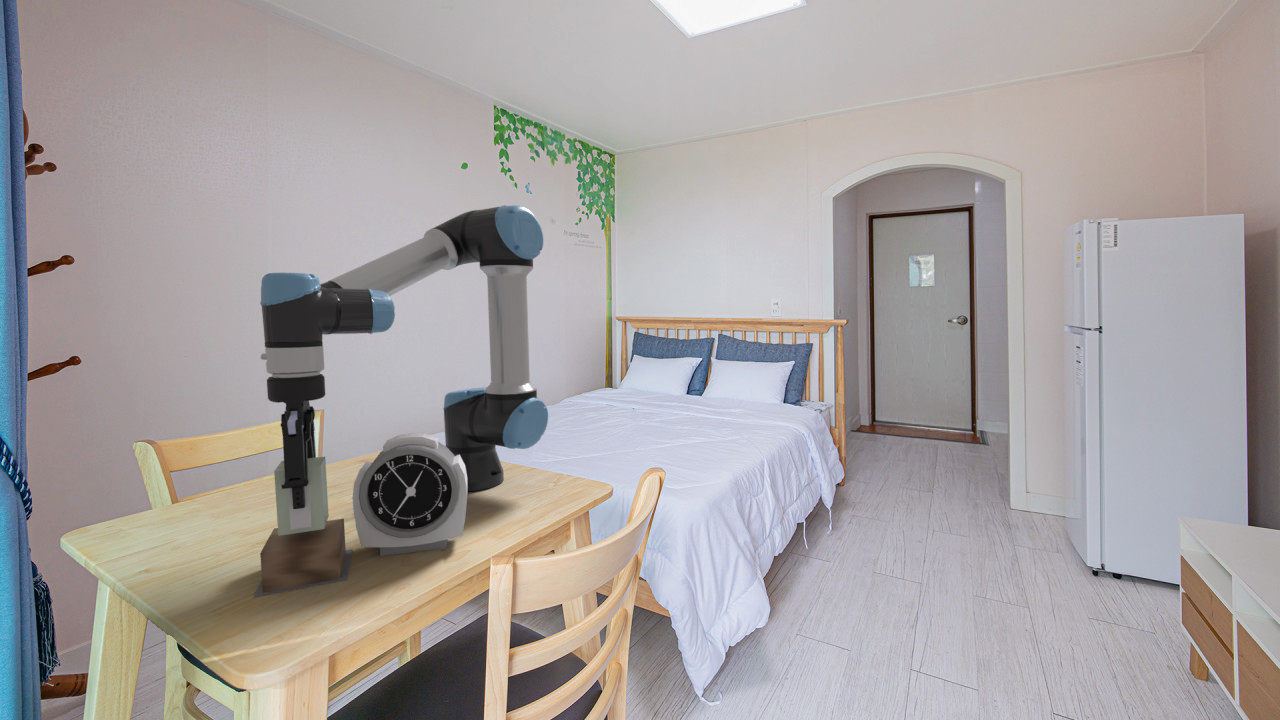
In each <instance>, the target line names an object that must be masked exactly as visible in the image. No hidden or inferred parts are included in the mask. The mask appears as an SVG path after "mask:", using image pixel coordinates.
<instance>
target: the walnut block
mask: <svg viewBox="0 0 1280 720" xmlns="http://www.w3.org/2000/svg"><path fill="white" fill-rule="evenodd" d="M345 531H346V530H345V518H338V519H331V520H330V519H329V520H327V522H326V525H325V529H321V530H314V531H308V532H301V533H294V534H287V535H281V536H278V527H275V528H273V529H272V531H271V533H270V535H269V537H268V538H267V541H266V542H265V544H264V545H263V547H262V549H261V550H260V572H261V580H262V587H263V593H264V592H269V591H274V590H280V589H285V588H291V587H296V586H302V585H307V584H313V583H318V582H323V581H329V580H334V579H340V578H341V574H342V569H343V564H344V559H345V553H346V550H347V549H346V534H345V533H346V532H345Z"/></svg>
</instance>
